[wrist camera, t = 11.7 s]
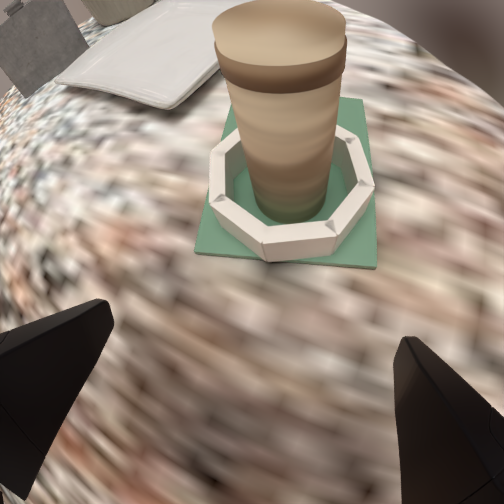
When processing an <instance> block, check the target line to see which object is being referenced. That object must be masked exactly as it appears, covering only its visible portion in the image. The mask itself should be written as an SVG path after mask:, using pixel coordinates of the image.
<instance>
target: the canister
mask: <svg viewBox="0 0 504 504" xmlns="http://www.w3.org/2000/svg"><path fill="white" fill-rule="evenodd" d="M81 1H82V2H83V4H84V5H85V6H86V8H87V9H88V11H89V12H90V13H91V14H92V16H93V17H94V18H95V20H96V21H97V22H98V23H99V24H101V25H103V26H109V25H114V24H117V23H119V22H122V21H125V20H126V19H129V18H131V17H133V16H135V15H136V14H138V13H140V12H141V11H143V10H145V9H147V8H148V7H150V6H151V5H152V4H153V2H154V0H81Z"/></svg>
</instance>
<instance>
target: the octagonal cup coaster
mask: <svg viewBox="0 0 504 504" xmlns="http://www.w3.org/2000/svg"><path fill="white" fill-rule="evenodd" d="M374 187H375V184H374V181H373V174H372V164H371V155H370V147H369V139H368V132H367V125H366V118H365V112H364V106H363V101H362V99H354V98H345V97H340V98H339V107H338V116H337V124H336V132H335V140H334V147H333V154H332V161H331V168H330V174H329V181H328V187H327V193H326V199H325V203H324V205H323V207H322V209H321V210H320V212H319V213H318V214H317V215H316V216H314V217H313V218H311V219H310V220H308V221H305V222H302V223H296V224H283V223H279V222H276V221H273V220H271V219H270V218H268V217H267V216H265V215H264V214H263V213H262V212H261V211H260V209H259V208H258V206H257V204H256V200H255V196H254V192H253V188H252V184H251V180H250V176H249V172H248V168H247V163H246V159H245V155H244V151H243V147H242V143H241V139H240V135H239V131H238V127H237V123H236V119H235V115H234V111H233V107H232V103H231V107H230V110H229V114H228V117H227V120H226V124H225V128H224V131H223V135H222V138H221V142H220V143H219V144H218V145H217V146H216V147H215V148H214V149H212V150H211V152H210V171H209V188H208V192H207V196H206V201H205V205H204V209H203V213H202V218H201V222H200V226H199V231H198V235H197V240H196V244H195V249H194V252H195V253H196V254H200V255H211V256H222V257H234V258H245V259H257V260H264V261H268V262H276V261H280V262H292V263H304V264H316V265H328V266H341V267H353V268H366V269H375V268H376V267H377V241H376V215H375V199H374Z"/></svg>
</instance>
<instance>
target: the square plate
mask: <svg viewBox="0 0 504 504" xmlns="http://www.w3.org/2000/svg"><path fill="white" fill-rule="evenodd" d="M250 1H255V0H161V1H160V2H158V3H156V4H154V5H152V6H150V7H148V8H147V9H145V10H143V11H141V12H140V13H138V14H136V15H135V16H133V17H131V18H130V19H128V20H127V21H125V22H124V23H122V24H120V25H119V26H118V27H116V28H115V29H113V30H112V31H111V32H109V33H108V34H106V35H105V36H104V37H103V38H101V39H100V40H99V41H97V42H96V43H95V44H94V45H92V46H91V47H90V48H89V49H88V50H86V51H85V52H84V53H83V54H82V55H81V56H80V57H79V58H77V59H76V60H75V61H74V62H73V63H72V64H71V65H70V66H69V67H68V68H67V69H66V70H64V71H63V72H62V73H61V74H60V75H59V76H58V77H57V79H56V80H55V81H54V82H55V83H56V84H62V85H68V86H74V87H81V88H88V89H93V90H99V91H103V92H107V93H111V94H115V95H118V96H121V97H125V98H128V99H131V100H134V101H137V102H140V103H143V104H146V105H150V106H153V107H156V108H160V109H166V110H169V109H173V108H175V107H176V106H178V105H179V104H180V103H182V102H183V101H184V100H185V99H187V98H188V97H189V96H190V95H191V94H192V93H193V92H195V91H196V90H197V89H198V88H199V87H200V86H201V85H202V84H203V83H204V82H205V81H206V80H207V79H209V78H210V77H211V76H212V75H213V74H214V73H215V72H216V71H217V70H218V69H219V68H220V67H219V63H218V59H217V55H216V52H215V48H214V42H215V38H214V34H213V30H212V23H213V21H214V20H215V18H216V17H217V16H218V15H220V14H221V13H223V12H224V11H226V10H228V9H230V8H232V7H234V6H237V5H240V4H243V3H246V2H250Z"/></svg>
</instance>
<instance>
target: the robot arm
mask: <svg viewBox="0 0 504 504" xmlns="http://www.w3.org/2000/svg"><path fill="white" fill-rule="evenodd" d="M113 327H114V319H113V315H112V312H111V308H110V305H109V303H108V301H106V300H103V299H94V300H91V301H88V302H86V303H83V304H80V305H77V306H75V307H72V308H69V309H66V310H64V311H61V312H58V313H55V314H53V315H50V316H47V317H44V318H42V319H39V320H36V321H33V322H31V323H28V324H25V325H23V326H20V327H17V328H14V329H12V330H10V331H6V332H4V333H1V334H0V483H1V484H2V485H4V486H5V487H6V488H7V489H9V490H10V491H11V492H13V493H14V494H15V495H17V496H18V497H20V498H21V499H22V500H24V501H25V500H26V499H27V497H28V495H29V492H30V490H31V488H32V485H33V483H34V481H35V479H36V477H37V474H38V472H39V470H40V468H41V466H42V464H43V462H44V459H45V456H46V455H47V453H48V451H49V449H50V447H51V445H52V443H53V441H54V439H55V437H56V435H57V433H58V431H59V429H60V427H61V425H62V423H63V421H64V420H65V418H66V416H67V414H68V412H69V410H70V408H71V407H72V405H73V403H74V401H75V399H76V398H77V396H78V394H79V392H80V391H81V389H82V387H83V385H84V384H85V382H86V380H87V378H88V377H89V375H90V373H91V372H92V370H93V368H94V366H95V365H96V363H97V361H98V359H99V357H100V355H101V352H102V350H103V348H104V346H105V344H106V342H107V340H108V338H109V336H110V334H111V332H112V330H113ZM393 371H394V399H395V417H396V426H397V435H398V445H399V457H400V471H401V495H402V504H504V417H503V416H502V415H501V414H500V413H499V412H498V411H497V410H496V409H495V408H494V407H492V406H491V405H490V404H489V403H488V402H487V401H486V400H485V399H484V398H483V397H482V396H481V395H480V394H479V393H478V392H477V391H476V390H475V389H474V388H473V387H472V386H470V385H469V384H468V383H467V382H466V381H465V380H464V379H463V378H462V377H461V376H460V375H459V374H458V373H456V372H455V371H454V370H453V369H452V368H451V367H450V366H449V365H448V364H447V363H445V362H444V361H443V360H442V359H441V358H440V357H439V356H438V355H437V354H435V353H434V352H433V351H432V350H431V349H430V348H429V347H428V346H426V345H425V344H424V343H423V342H422V341H421V340H420V339H419V338H417V337H415V336H405V337H403V338H402V339H401V341H400V344H399V347H398V350H397V352H396V355H395V358H394V362H393ZM491 407H492V408H491ZM0 504H4V502H3V496H2V492H1V491H0Z"/></svg>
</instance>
